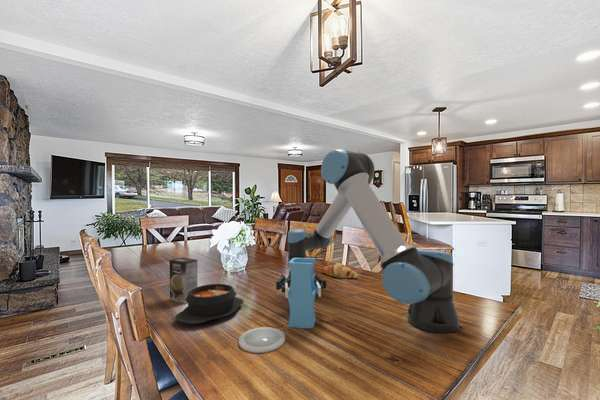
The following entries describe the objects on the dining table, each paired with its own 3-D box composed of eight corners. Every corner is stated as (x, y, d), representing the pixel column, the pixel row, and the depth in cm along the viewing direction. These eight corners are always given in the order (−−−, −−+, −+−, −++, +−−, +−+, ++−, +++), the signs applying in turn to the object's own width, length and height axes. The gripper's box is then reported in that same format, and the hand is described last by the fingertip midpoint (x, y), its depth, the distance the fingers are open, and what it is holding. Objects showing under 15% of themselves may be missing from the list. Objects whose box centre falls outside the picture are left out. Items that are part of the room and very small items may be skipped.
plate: (294, 343, 79) (293, 340, 79) (250, 358, 71) (250, 354, 71) (271, 325, 90) (271, 323, 90) (231, 337, 82) (231, 334, 82)
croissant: (360, 284, 142) (363, 269, 145) (353, 279, 135) (356, 263, 138) (323, 277, 154) (327, 263, 157) (315, 272, 147) (319, 257, 150)
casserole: (218, 298, 115) (218, 277, 115) (255, 306, 106) (255, 284, 106) (162, 322, 93) (161, 296, 93) (201, 335, 84) (201, 306, 84)
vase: (312, 328, 87) (312, 263, 87) (287, 326, 89) (287, 262, 89) (316, 318, 95) (316, 258, 95) (293, 316, 97) (293, 257, 96)
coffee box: (169, 300, 112) (168, 259, 112) (182, 295, 118) (182, 256, 118) (185, 304, 108) (184, 262, 108) (198, 299, 114) (197, 258, 114)
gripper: (327, 282, 111) (339, 303, 88) (269, 284, 109) (267, 306, 87) (326, 263, 111) (338, 279, 88) (269, 264, 109) (266, 281, 87)
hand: (303, 292), depth 87 cm, fingers closed on vase, 9 cm apart
